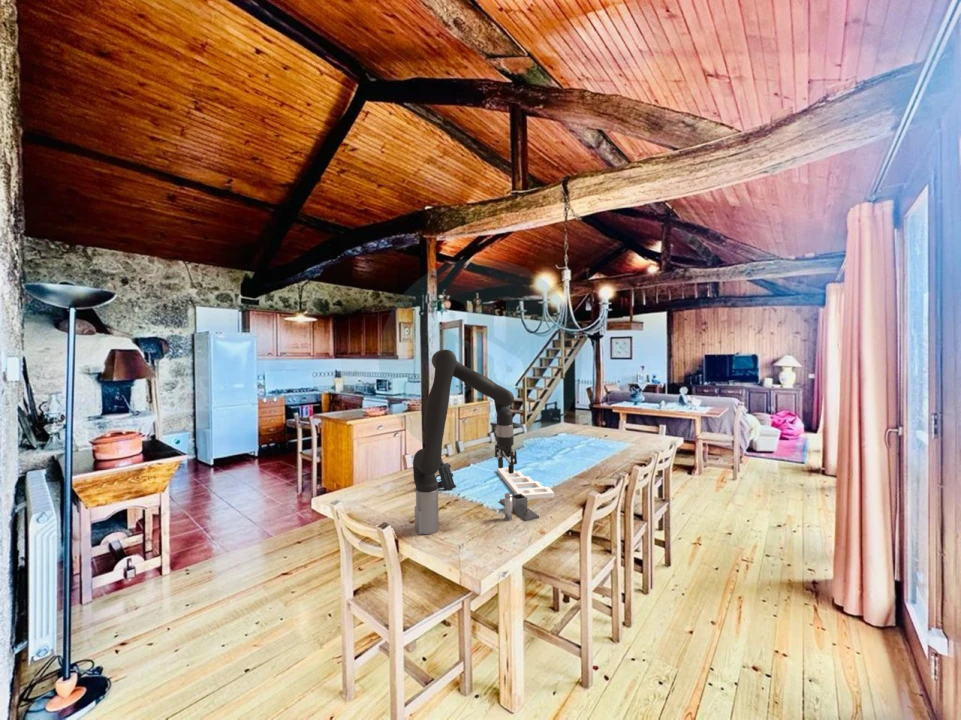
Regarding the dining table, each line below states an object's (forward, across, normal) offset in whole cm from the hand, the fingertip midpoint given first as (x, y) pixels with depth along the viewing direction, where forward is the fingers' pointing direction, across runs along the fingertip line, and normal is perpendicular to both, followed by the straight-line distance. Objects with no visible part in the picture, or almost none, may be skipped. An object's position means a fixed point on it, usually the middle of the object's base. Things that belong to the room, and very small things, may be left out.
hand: (505, 470), depth 180 cm
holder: (+22, -31, +30) cm, 49 cm away
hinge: (+21, -3, +8) cm, 23 cm away
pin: (+20, +3, -1) cm, 21 cm away
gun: (+20, -44, -13) cm, 50 cm away
